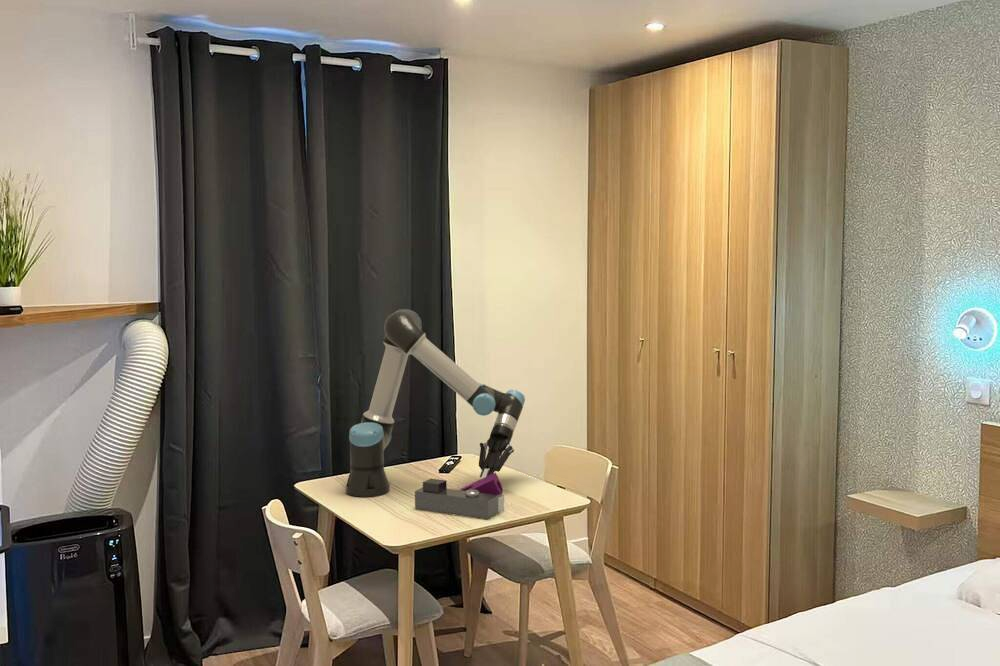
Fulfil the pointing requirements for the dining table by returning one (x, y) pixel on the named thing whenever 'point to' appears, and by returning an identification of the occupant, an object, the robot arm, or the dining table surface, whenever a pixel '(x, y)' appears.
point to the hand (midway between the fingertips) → (481, 487)
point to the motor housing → (457, 500)
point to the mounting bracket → (486, 485)
